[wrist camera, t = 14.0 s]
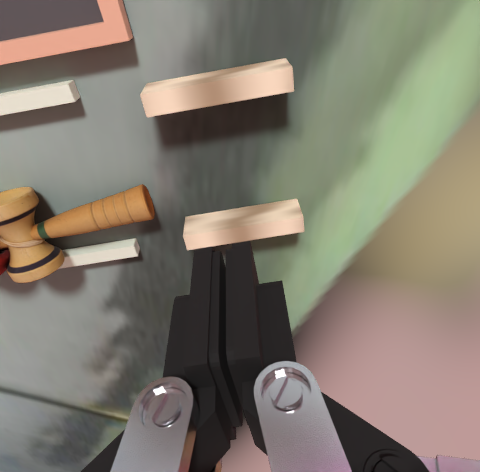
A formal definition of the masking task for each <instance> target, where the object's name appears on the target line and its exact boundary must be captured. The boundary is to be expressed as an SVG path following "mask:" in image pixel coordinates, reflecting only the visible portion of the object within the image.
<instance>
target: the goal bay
mask: <svg viewBox="0 0 480 472" xmlns="http://www.w3.org/2000/svg"><path fill="white" fill-rule="evenodd" d="M79 98H80V95H79V93H78V90H77V88H76V85H75V83H74V80H70V81H65V82H59V83H54V84H48V85H43V86H38V87H32V88H27V89H21V90H16V91H10V92H5V93H0V115H5V114H11V113H16V112H22V111H27V110H33V109H39V108H44V107H50V106H55V105H61V104H66V103H72V102H76V101H77V100H78V99H79ZM139 250H140V247H139V244H138V242H137V239H136V238H133V239H127V240H121V241H115V242H109V243H102V244H96V245H90V246H84V247H78V248H71V249H65V250H62V253H63V255H64V257H65V260H64V263H63V264H62V266H61V267H60V268H58V269H61V268H67V267H73V266H79V265H86V264H92V263H98V262H105V261H111V260H117V259H124V258H130V257H136V256H138V254H139Z"/></svg>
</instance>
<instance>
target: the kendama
mask: <svg viewBox="0 0 480 472" xmlns="http://www.w3.org/2000/svg"><path fill="white" fill-rule="evenodd" d="M38 203H39V199H38V197H37V195H36V193H35V192H34V190H33V188H31V187H21V188H16V189H11V190H7V191H4V192H0V275H1V274H2V273H4V272H5V271H6V270H7V273H8V274H9V276H10V277H11V278H12V280H13V281H14V282H17V283H27V282H32V281H36V280H39V279H41V278H43V277H46V276H48V275H50V274H51V273H53V272H54V271H56V270H57V269H58V268H60V267H61V266H62V264H63V263H64V260H65V257H64V255H63V253H62V250H61V249H60V248H59V247H56V246H53V245H51V244H49V243H47V242H46V241H45V240H44V239H49V238H57V237H64V236H71V235H78V234H83V233H88V232H93V231H98V230H101V229H107V228H111V227H116V226H121V225H125V224H130V223H134V222H141V221H146V220H151V219H154V215H155V212H154V206H153V203H152V199H151V197H150V194H149V192H148V189H147V188H146V186H144V185H143V184H142V185H139V186H136V187H134V188H131V189H129V190H126V191H125V192H124V191H123V192H120V193H118V194H115V195H112V196H109V197H106V198H104V199H100V200H97V201H95V202H92V203H88V204H85V205H82V206H79V207H77V208H74V209H71V210H69V211H66V212H64V213H61V214H59V215H57V216H55V217H52V218H50V219H48V220H45V221H43V222H41V223H38V224H36V225H35V222H34V215H35V210H36V207H37V205H38Z"/></svg>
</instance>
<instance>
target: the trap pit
mask: <svg viewBox="0 0 480 472" xmlns="http://www.w3.org/2000/svg"><path fill="white" fill-rule="evenodd" d="M132 38H133V33H132V30H131V26H130V23H129V19H128V16H127V13H126V9H125V6H124V2H123V0H0V65H3V64H8V63H13V62H19V61H24V60H29V59H35V58H40V57H45V56H51V55H56V54H61V53H66V52H72V51H77V50H82V49H88V48H93V47H98V46H104V45H109V44H114V43H119V42H125V41H130V40H131V39H132Z"/></svg>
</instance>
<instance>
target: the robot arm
mask: <svg viewBox="0 0 480 472" xmlns="http://www.w3.org/2000/svg"><path fill="white" fill-rule="evenodd" d="M242 409H243V412H244V415H245V418H246V421H247V424H248V425H249V428H250V431H251V434H252V436H253V440H254V443H255V445H256V446H257V447H258V448H260V449H261V450H262V451H263V452H264V453H265V454H266V455H267V456H268V459H269V463H270V468H271V472H480V460H472V459H465V458H457V457H450V456H442V455H437V456H436V458H428V457H420V456H416V455H415V454H414V453H412V452H411V451H410V450H408V449H407V448H405V447H404V446H402V445H401V444H399V443H398V442H396V441H395V440H393V439H392V438H390V437H389V436H387V435H386V434H384V433H383V432H381V431H380V430H378V429H377V428H375V427H374V426H372V425H371V424H369V423H368V422H366V421H365V420H363V419H362V418H360V417H358V416H357V415H355V414H354V413H353V412H351V411H350V410H348V409H347V408H345V407H343V406H342V405H340V404H339V403H337V402H336V401H334V400H333V399H331V398H330V397H328V396H327V395H325V394H324V393H322V392H321V391H320V389H319V386H318V384H317V381H316V379H315V378H314V376H313V374H312V373H311V372H310V371H309V370H308V369H307V368H306V367H305V366H303V365H301V364H298V363H297V362H296V357H295V351H294V345H293V341H292V334H291V328H290V323H289V317H288V311H287V306H286V300H285V295H284V289H283V283H282V281H276V282H269V283H263V284H259V281H258V276H257V271H256V266H255V262H254V257H253V252H252V247H251V243H250V241H247V242H241V243H234V244H232V249H228V250H226V267H225V263H224V260H223V256H222V253H221V251H215V250H214V248H213V247H210V248H204V249H197V250H195V251H194V258H193V268H192V278H191V288H190V295H184V296H178V297H176V298H175V300H174V304H173V311H172V318H171V325H170V331H169V338H168V345H167V352H166V359H165V366H164V372H163V378H160V379H158V380H155V381H153V382H152V383H150V384H149V385H148V386H146V387H145V388H144V389H143V390H142V392H141V393H140V394H139V395H138V397H137V399H136V401H135V403H134V405H133V408H132V411H131V414H130V417H129V420H128V422H127V425H126V428H125V430H124V431H123V432H122V433H121V434H120V435H118V436H117V437H116V438H115V439H114V440H113V441H112V442H111V443H110V444H109V445H108V446H107V447H106V448H105V449H104V450H103V451H102V452H101V453H100V454H99V455H98V456H97V457H96V458H95V459H94V460H92V461H91V462H90V463H89V464H88V465H87V466H86V467H85V468H84V469H83V470H82V471H81V472H221V468H222V457H223V456H224V455H225V453H226V452H227V451H228V450H229V449H230V440H234V439H236V427H239V426H242V423H243V419H242Z"/></svg>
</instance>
